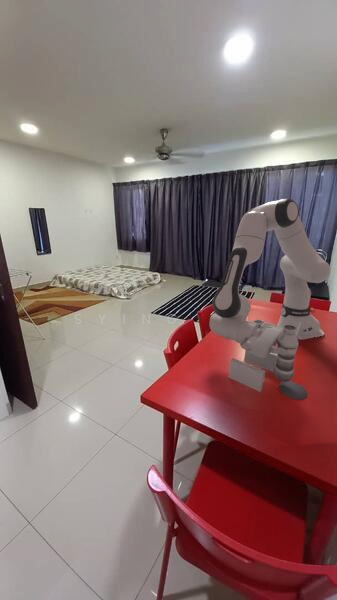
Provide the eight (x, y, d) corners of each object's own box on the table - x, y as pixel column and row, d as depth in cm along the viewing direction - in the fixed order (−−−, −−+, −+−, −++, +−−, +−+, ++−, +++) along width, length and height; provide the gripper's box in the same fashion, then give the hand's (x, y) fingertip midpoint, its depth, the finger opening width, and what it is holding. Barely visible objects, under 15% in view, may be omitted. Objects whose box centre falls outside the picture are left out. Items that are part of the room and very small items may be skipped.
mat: (297, 381, 89) (297, 380, 89) (313, 399, 80) (313, 398, 80) (274, 382, 88) (274, 381, 88) (287, 400, 80) (287, 400, 79)
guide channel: (228, 377, 91) (230, 360, 88) (246, 358, 102) (248, 343, 99) (260, 391, 83) (263, 373, 81) (275, 369, 95) (278, 353, 92)
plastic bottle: (290, 373, 88) (298, 323, 81) (294, 385, 82) (303, 332, 75) (271, 371, 90) (277, 322, 83) (274, 383, 83) (281, 331, 77)
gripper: (238, 337, 80) (282, 352, 72) (261, 317, 95) (299, 328, 87) (236, 353, 83) (278, 370, 74) (259, 332, 97) (296, 343, 89)
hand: (290, 347), depth 81 cm, fingers closed on plastic bottle, 6 cm apart
